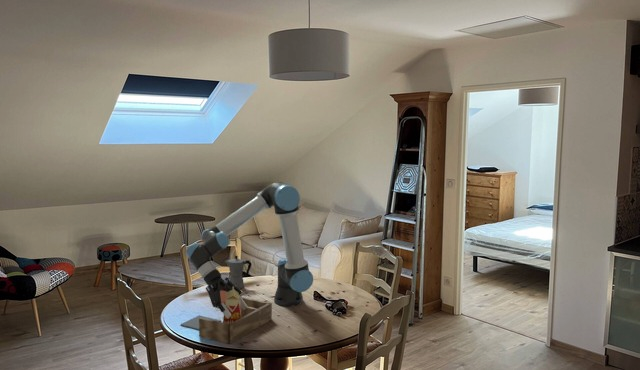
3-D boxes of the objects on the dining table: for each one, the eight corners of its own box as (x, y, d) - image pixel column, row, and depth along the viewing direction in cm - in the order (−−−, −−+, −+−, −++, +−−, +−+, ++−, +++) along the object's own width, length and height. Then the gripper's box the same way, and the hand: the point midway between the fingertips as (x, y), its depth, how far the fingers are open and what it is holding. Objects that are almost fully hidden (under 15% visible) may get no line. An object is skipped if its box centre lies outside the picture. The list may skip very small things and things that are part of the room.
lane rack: (199, 336, 230) (199, 318, 229) (242, 312, 258) (242, 297, 257) (230, 344, 222) (230, 326, 221) (271, 319, 251) (271, 303, 250)
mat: (180, 325, 241) (180, 324, 241) (199, 316, 252) (199, 315, 252) (202, 331, 235) (202, 329, 235) (221, 321, 246) (221, 320, 246)
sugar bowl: (208, 300, 275) (208, 281, 274) (233, 296, 282) (233, 277, 281) (215, 307, 265) (215, 288, 263) (242, 303, 272) (242, 284, 270)
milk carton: (223, 327, 240) (223, 285, 237) (243, 327, 240) (243, 285, 238) (221, 335, 231) (221, 291, 228) (242, 335, 231) (242, 291, 229)
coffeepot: (222, 288, 295) (222, 257, 293) (227, 283, 304) (227, 253, 302) (249, 290, 293) (249, 258, 291) (253, 285, 302) (253, 254, 300)
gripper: (221, 271, 250) (248, 309, 245) (187, 285, 229) (216, 326, 224) (230, 262, 247) (257, 300, 242) (197, 275, 226) (226, 316, 221)
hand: (237, 312), depth 233 cm, fingers open, 11 cm apart
